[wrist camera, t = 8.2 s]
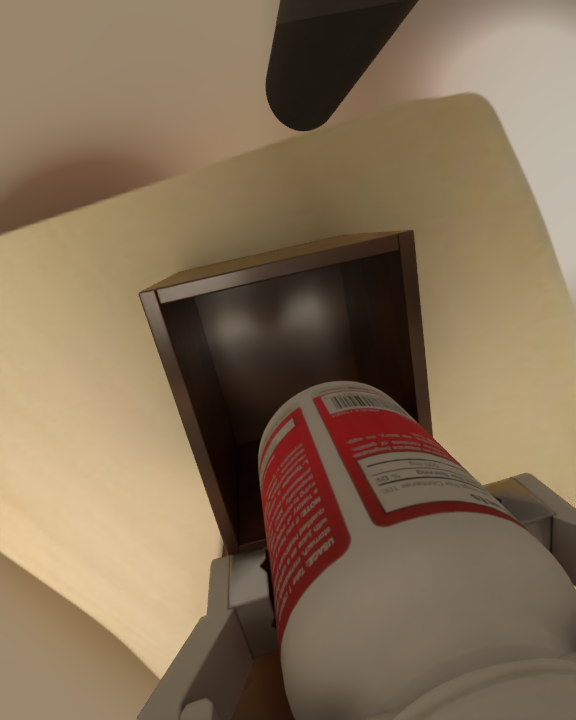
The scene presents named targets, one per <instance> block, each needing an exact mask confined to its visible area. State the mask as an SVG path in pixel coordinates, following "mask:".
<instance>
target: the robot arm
mask: <svg viewBox="0 0 576 720" xmlns="http://www.w3.org/2000/svg"><path fill="white" fill-rule="evenodd" d="M482 486H483V487H484V488H485V489H486V490H487V491H488V492H489V493H490V494H491V495H492V496H493V497H494V498H495V499H496V500H497V501H499V502H500V503H501V504H502V505H503V506H504V507H505V508H506V509H507V510H508V511H509V512H510V513H511V514H512V515H513V516H514V517H515V518H516V519H517V520H518V521H519V522H520V523H521V524H522V525H523V526H524V527H525V528H527V529H528V530H529V532H530V533H531V534H533V535H534V536H535V537H536V538H537V539H538V541H539V542H540V543H541V544H542V545H543V546H544V547H545V548H546V549H547V550H548V551H549V552H550V553H551V554H552V555H553V556H554V557H555V558H556V560H557V561H558V562H559V564H560V565H561V566H562V568H563V569H564V570H565V572H566V573H567V575H568V577H569V578H570V580H571V582H572V584H573V585H574V586H576V509H575V508H574V507H573V506H572V505H570V504H569V503H568V502H566V501H565V500H564V499H562V498H561V497H560V496H559V495H557V494H556V493H555V492H553V491H552V490H551V489H550V488H548V487H547V486H546V485H544V484H543V483H542V482H540V481H539V480H538V479H537V478H535V477H534V476H533V475H531V474H529V473H523V474H520V475H517V476H513V477H510V478H507V479H503V480H500V481H496V482H493V483H489V484H486V485H482ZM276 651H279V645H278V635H277V627H276V618H275V608H274V601H273V591H272V583H271V575H270V565H269V557H268V551H267V548H266V547H265V546H264V547H260V548H256V549H252V550H248V551H244V552H240V553H236V554H232V555H230V556H226V557H222V558H218V559H213V561H212V563H211V568H210V581H209V594H208V607H207V616H204V617H201V618H200V620H199V622H198V623H197V625H196V626H195V628H194V629H193V631H192V632H191V634H190V636H189V637H188V639H187V640H186V642H185V643H184V645H183V646H182V648H181V650H180V651H179V653H178V654H177V656H176V657H175V659H174V660H173V662H172V664H171V665H170V667H169V668H168V670H167V671H166V673H165V674H164V676H163V678H162V679H161V681H160V682H159V684H158V686H157V687H156V688H155V690H154V692H153V693H152V695H151V696H150V698H149V699H148V701H147V702H146V704H145V706H144V707H143V709H142V710H141V712H140V714H139V715H138V717H137V720H231V719H232V716H233V714H234V711H235V708H236V706H237V703H238V701H239V698H240V695H241V693H242V690H243V688H244V685H245V682H246V680H247V677H248V675H249V672H250V669H251V667H252V664H253V659H255V658H258V657H261V656H264V655H267V654H270V653H273V652H276ZM557 659H562V660H568V661H572V662H575V663H576V652H574V653H570V654H567V655H564V656H561V657H558V658H557ZM401 712H402V711H399V710H389V711H385V712H382V713H379V714H376V715H373V716H369V717H366V718H363V719H360V720H393V719H394V718H395V717H396V716H397V715H398V714H400V713H401Z"/></svg>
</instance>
